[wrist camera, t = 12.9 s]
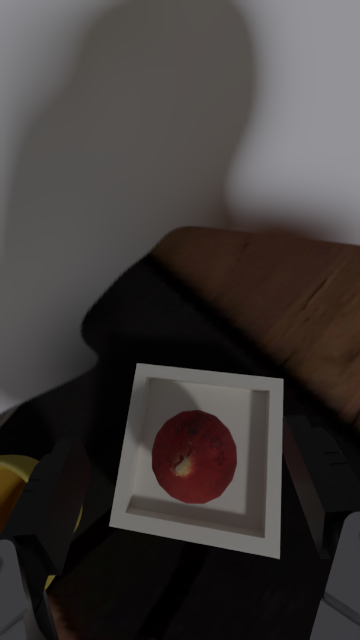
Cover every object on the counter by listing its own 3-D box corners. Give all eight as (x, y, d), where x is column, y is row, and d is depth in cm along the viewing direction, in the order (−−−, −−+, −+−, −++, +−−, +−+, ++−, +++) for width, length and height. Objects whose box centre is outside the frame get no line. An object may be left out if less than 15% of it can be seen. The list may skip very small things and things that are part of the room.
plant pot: (47, 424, 31) (-24, 426, 22) (124, 492, 28) (80, 527, 19) (-24, 518, 29) (-138, 564, 19) (51, 601, 26) (-39, 701, 17)
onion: (179, 400, 25) (152, 396, 18) (246, 424, 24) (247, 431, 16) (157, 471, 24) (117, 498, 17) (226, 501, 23) (216, 546, 15)
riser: (269, 387, 30) (283, 379, 24) (264, 526, 26) (279, 558, 20) (152, 374, 32) (136, 363, 25) (132, 502, 28) (109, 526, 22)
